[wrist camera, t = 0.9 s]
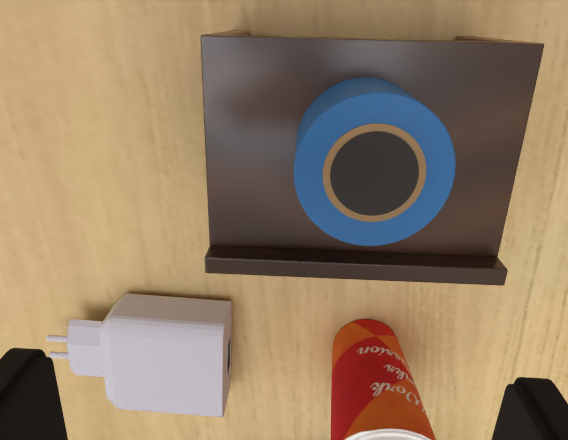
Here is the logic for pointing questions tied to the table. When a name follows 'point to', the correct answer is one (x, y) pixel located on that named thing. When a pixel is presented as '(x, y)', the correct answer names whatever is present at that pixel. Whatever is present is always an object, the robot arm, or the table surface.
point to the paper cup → (374, 387)
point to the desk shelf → (283, 136)
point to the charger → (157, 353)
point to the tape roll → (372, 162)
